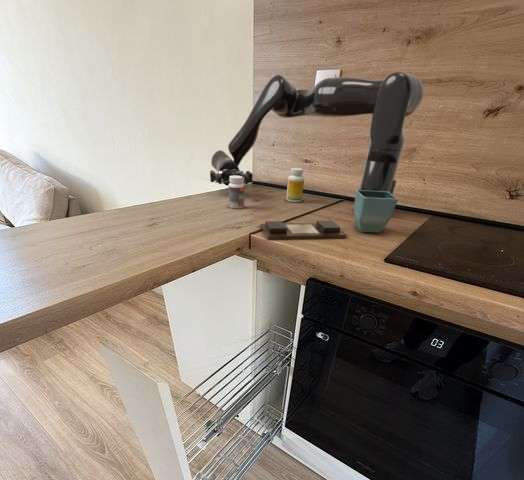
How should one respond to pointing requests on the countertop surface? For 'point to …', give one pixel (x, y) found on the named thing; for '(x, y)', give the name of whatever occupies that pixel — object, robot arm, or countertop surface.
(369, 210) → the flower pot
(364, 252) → the countertop surface
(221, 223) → the countertop surface
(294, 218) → the countertop surface
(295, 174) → the supplement bottle
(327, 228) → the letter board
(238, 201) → the pill bottle
